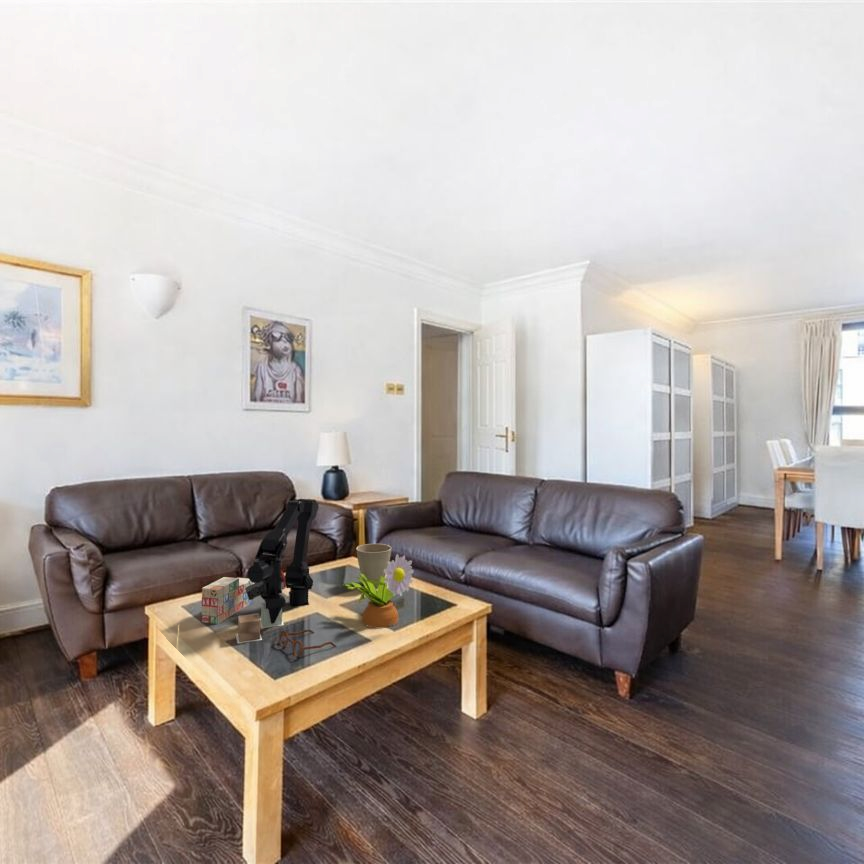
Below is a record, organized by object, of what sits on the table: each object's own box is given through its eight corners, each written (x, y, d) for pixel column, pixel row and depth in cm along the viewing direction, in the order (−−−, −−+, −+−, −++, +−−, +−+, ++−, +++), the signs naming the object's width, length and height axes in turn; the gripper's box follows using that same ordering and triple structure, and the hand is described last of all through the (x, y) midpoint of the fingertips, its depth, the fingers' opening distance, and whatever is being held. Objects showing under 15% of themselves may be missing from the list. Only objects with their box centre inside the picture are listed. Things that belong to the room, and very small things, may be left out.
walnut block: (257, 631, 160) (258, 613, 160) (259, 639, 154) (260, 620, 154) (237, 634, 157) (238, 615, 157) (239, 642, 152) (239, 623, 152)
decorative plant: (373, 640, 157) (376, 562, 156) (328, 618, 173) (330, 547, 173) (431, 617, 176) (433, 548, 176) (385, 600, 193) (387, 536, 192)
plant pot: (376, 577, 221) (377, 541, 220) (397, 586, 210) (398, 548, 209) (348, 583, 211) (349, 546, 210) (368, 593, 200) (369, 554, 199)
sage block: (279, 617, 171) (279, 600, 171) (281, 624, 166) (282, 606, 166) (261, 620, 169) (261, 603, 169) (263, 627, 163) (263, 609, 163)
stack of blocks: (237, 601, 187) (238, 569, 187) (252, 603, 186) (253, 570, 185) (200, 623, 166) (201, 587, 166) (217, 625, 165) (218, 589, 164)
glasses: (277, 646, 152) (278, 630, 152) (314, 634, 161) (315, 619, 161) (299, 661, 143) (300, 644, 143) (337, 648, 152) (338, 632, 152)
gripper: (244, 568, 172) (243, 613, 172) (250, 585, 155) (248, 634, 155) (277, 565, 177) (276, 608, 177) (286, 581, 160) (285, 629, 160)
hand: (271, 619), depth 167 cm, fingers closed on sage block, 6 cm apart
